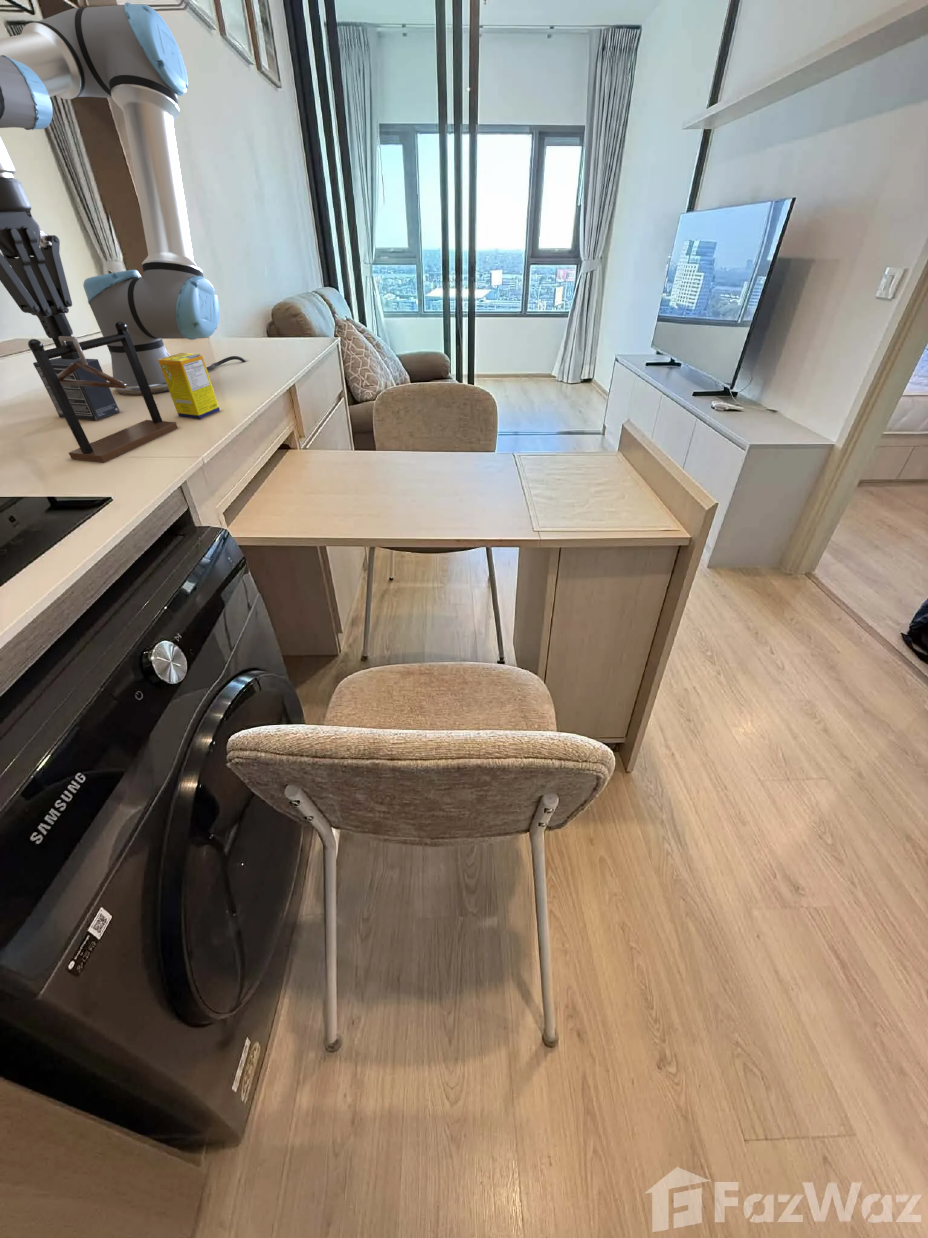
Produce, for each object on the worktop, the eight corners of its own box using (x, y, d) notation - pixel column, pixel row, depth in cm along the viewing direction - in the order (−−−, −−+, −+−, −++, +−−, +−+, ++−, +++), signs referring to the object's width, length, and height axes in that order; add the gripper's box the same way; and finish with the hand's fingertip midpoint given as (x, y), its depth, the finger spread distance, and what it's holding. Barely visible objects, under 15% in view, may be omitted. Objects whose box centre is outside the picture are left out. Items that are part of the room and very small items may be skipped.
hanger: (55, 383, 87) (31, 334, 82) (128, 387, 83) (107, 336, 79) (51, 384, 86) (26, 335, 81) (124, 389, 82) (103, 338, 78)
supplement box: (199, 408, 109) (180, 352, 102) (220, 411, 107) (203, 353, 100) (177, 417, 105) (156, 358, 98) (200, 419, 103) (180, 360, 96)
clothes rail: (149, 425, 101) (106, 319, 89) (178, 428, 99) (139, 320, 88) (71, 459, 87) (9, 339, 76) (103, 462, 85) (45, 340, 74)
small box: (122, 411, 108) (99, 357, 102) (97, 421, 103) (71, 365, 97) (85, 408, 111) (60, 355, 104) (58, 417, 106) (30, 362, 100)
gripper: (9, 178, 78) (85, 348, 93) (-81, 176, 68) (20, 366, 83) (47, 176, 76) (118, 350, 91) (-40, 174, 67) (55, 368, 82)
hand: (71, 357), depth 87 cm, fingers closed
